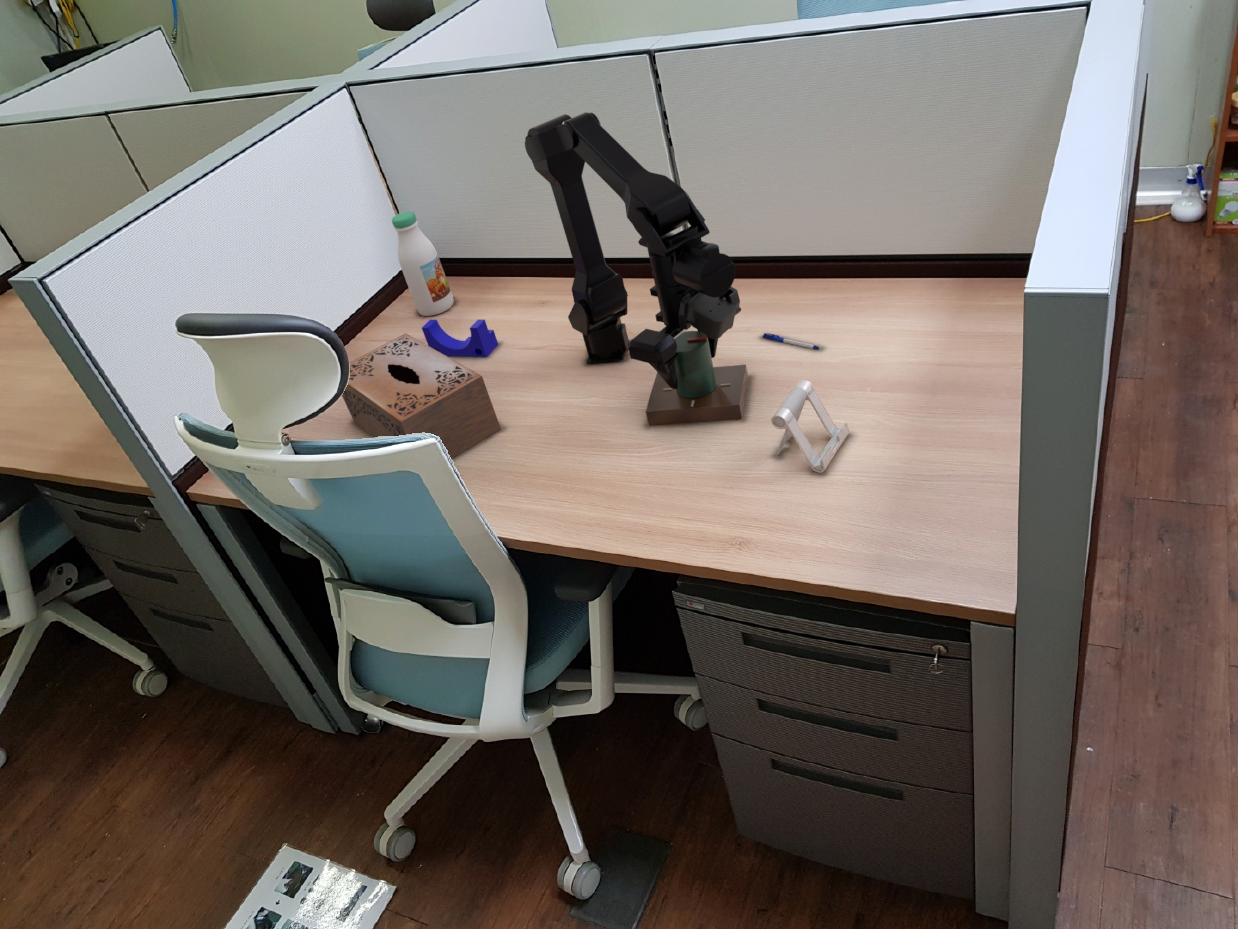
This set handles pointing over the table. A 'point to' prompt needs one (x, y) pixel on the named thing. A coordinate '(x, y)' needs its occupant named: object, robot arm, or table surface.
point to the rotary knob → (694, 365)
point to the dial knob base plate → (700, 399)
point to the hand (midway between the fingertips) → (693, 372)
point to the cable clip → (471, 347)
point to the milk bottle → (421, 267)
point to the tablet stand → (788, 420)
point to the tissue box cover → (419, 395)
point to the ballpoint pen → (788, 341)
